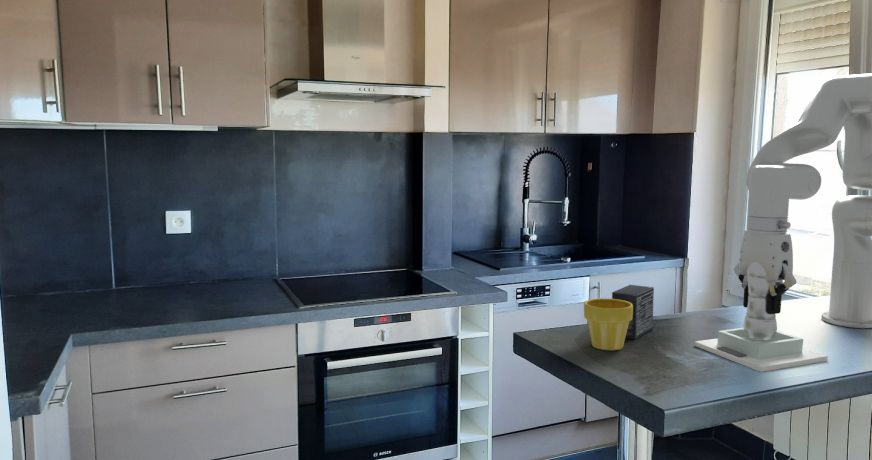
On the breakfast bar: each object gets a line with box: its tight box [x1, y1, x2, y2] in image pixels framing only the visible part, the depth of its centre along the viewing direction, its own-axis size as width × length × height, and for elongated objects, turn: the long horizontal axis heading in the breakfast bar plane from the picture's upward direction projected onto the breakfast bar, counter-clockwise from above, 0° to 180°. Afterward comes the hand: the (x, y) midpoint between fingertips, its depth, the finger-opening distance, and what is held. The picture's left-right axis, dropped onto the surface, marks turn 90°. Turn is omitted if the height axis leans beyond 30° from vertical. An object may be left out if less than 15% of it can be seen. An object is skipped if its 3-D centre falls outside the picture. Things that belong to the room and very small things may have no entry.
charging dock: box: [694, 327, 829, 373], centre depth 140 cm, size 18×18×4 cm
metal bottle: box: [742, 262, 778, 340], centre depth 139 cm, size 6×7×20 cm
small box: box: [611, 284, 655, 340], centre depth 156 cm, size 11×6×10 cm, turn 141°
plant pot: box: [583, 297, 633, 351], centre depth 145 cm, size 10×10×10 cm
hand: (761, 309), depth 139 cm, fingers closed on metal bottle, 5 cm apart
